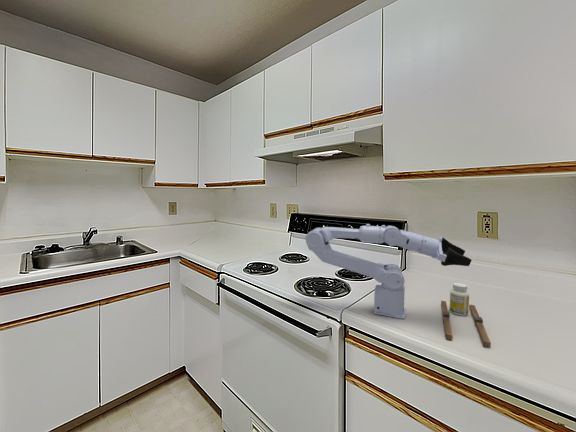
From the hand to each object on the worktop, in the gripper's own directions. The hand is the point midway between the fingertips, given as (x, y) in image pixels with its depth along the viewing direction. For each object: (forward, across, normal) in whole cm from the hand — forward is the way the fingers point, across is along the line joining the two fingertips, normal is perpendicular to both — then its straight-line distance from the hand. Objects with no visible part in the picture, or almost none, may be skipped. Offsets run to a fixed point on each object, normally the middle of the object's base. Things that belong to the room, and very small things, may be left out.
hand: (466, 258), depth 85 cm
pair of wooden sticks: (+4, -5, +19) cm, 20 cm away
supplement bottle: (+6, +3, +20) cm, 21 cm away
